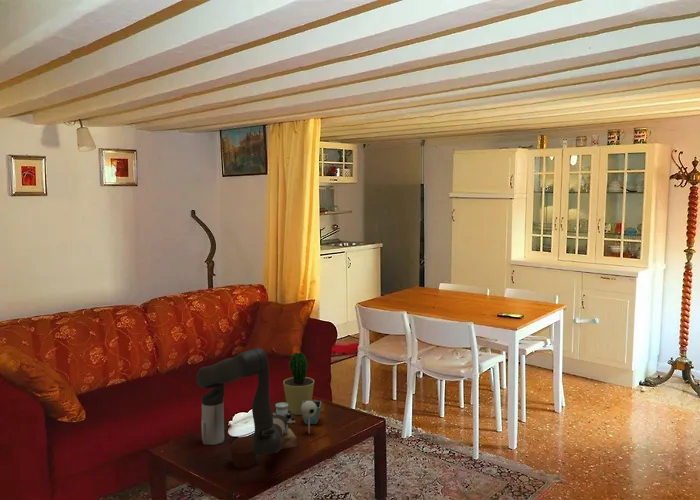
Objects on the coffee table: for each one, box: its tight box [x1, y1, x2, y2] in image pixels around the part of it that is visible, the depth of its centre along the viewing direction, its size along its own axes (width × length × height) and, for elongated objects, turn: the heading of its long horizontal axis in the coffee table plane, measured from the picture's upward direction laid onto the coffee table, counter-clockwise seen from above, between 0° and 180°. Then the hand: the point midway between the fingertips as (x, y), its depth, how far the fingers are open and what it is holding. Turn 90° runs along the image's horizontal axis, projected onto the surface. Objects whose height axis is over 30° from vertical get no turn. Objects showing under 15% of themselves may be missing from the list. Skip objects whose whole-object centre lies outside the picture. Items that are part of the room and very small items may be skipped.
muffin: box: [228, 436, 257, 469], centre depth 232 cm, size 12×11×10 cm
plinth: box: [281, 428, 298, 450], centre depth 251 cm, size 10×10×4 cm
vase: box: [275, 401, 289, 434], centre depth 250 cm, size 5×5×12 cm
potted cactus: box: [282, 352, 315, 416], centre depth 289 cm, size 15×15×30 cm
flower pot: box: [301, 400, 322, 425], centre depth 274 cm, size 9×9×9 cm
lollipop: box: [301, 400, 317, 435], centre depth 261 cm, size 7×7×15 cm
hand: (283, 412), depth 252 cm, fingers closed on vase, 4 cm apart
